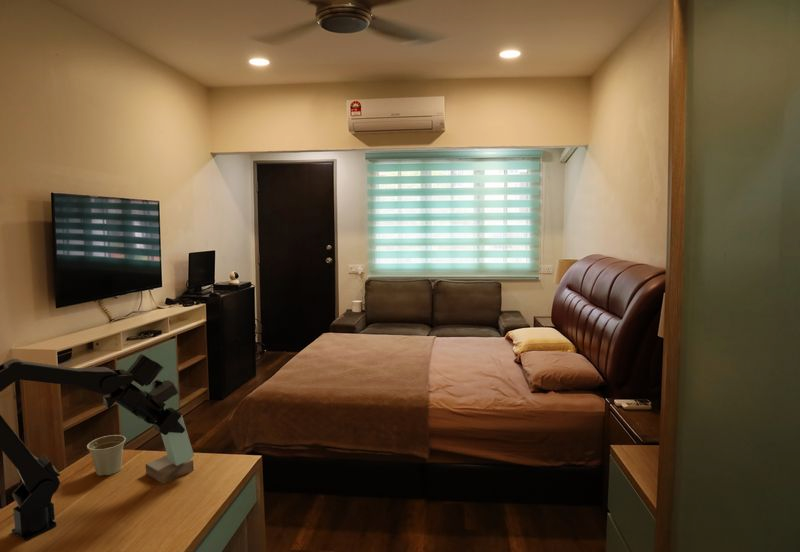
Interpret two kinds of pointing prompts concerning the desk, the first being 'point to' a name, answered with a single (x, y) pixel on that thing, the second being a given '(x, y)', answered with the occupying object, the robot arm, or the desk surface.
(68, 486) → the desk surface
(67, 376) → the robot arm
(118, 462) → the flower pot
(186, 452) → the pillar
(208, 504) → the desk surface
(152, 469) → the base slab
